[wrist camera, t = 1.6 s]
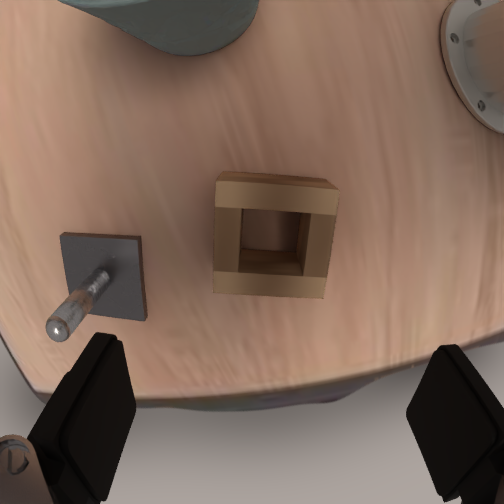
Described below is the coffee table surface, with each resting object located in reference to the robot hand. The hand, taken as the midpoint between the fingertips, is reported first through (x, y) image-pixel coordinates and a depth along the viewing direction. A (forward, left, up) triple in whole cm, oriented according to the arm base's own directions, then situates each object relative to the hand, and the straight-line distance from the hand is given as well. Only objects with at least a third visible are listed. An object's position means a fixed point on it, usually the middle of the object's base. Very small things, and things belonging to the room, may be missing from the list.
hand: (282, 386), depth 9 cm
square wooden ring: (0, 0, -15) cm, 15 cm away
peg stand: (+13, +5, -15) cm, 20 cm away
